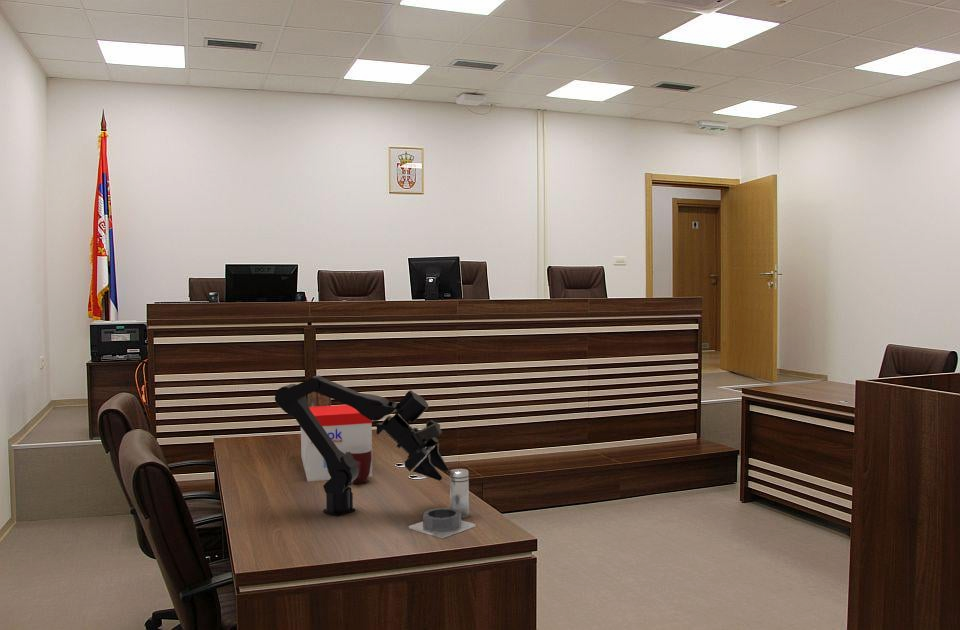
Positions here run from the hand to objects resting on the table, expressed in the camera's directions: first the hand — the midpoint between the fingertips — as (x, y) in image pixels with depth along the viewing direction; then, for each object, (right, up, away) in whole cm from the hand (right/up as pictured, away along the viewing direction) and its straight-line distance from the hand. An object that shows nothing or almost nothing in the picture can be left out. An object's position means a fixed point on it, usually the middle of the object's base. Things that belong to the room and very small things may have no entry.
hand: (444, 474), depth 201 cm
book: (-51, -8, +83) cm, 98 cm away
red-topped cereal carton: (-40, -9, +56) cm, 69 cm away
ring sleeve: (0, -11, -10) cm, 15 cm away
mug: (-28, -10, +34) cm, 45 cm away
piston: (+4, -11, 0) cm, 12 cm away
